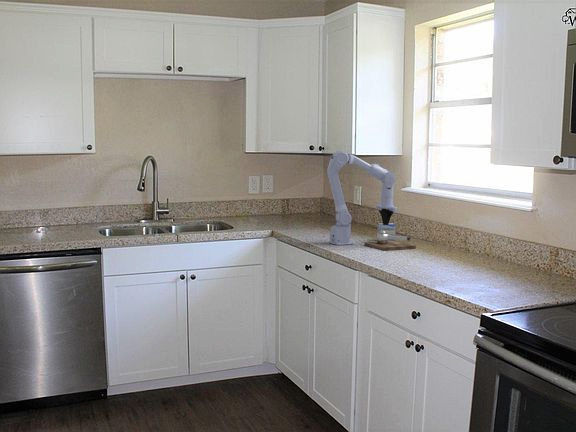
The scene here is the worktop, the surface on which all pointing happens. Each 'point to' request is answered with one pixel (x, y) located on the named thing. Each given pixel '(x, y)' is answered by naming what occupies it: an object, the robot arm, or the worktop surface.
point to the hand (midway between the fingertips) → (385, 224)
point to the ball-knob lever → (383, 238)
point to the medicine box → (387, 229)
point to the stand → (390, 245)
